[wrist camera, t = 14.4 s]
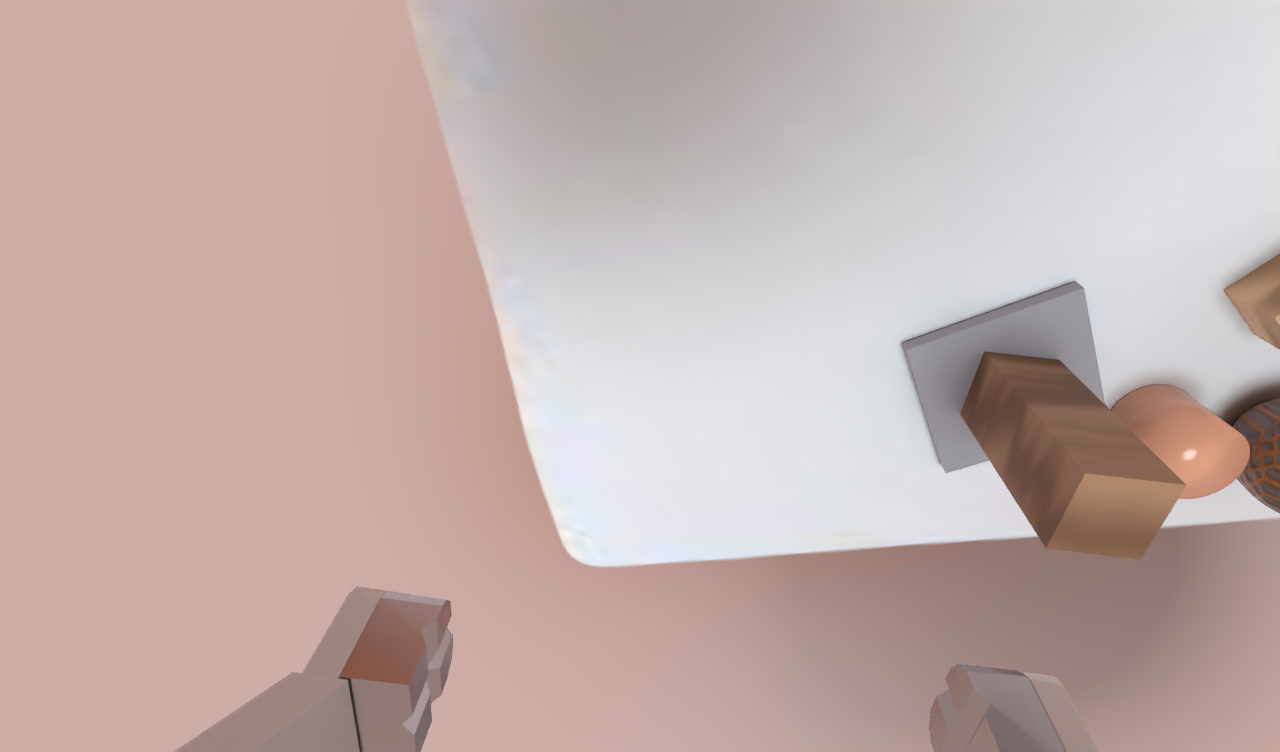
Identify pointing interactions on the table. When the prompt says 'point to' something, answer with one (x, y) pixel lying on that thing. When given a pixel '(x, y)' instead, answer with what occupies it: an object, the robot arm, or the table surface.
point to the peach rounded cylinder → (1185, 437)
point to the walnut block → (1068, 457)
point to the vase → (1262, 452)
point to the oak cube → (1260, 300)
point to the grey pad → (1018, 329)
